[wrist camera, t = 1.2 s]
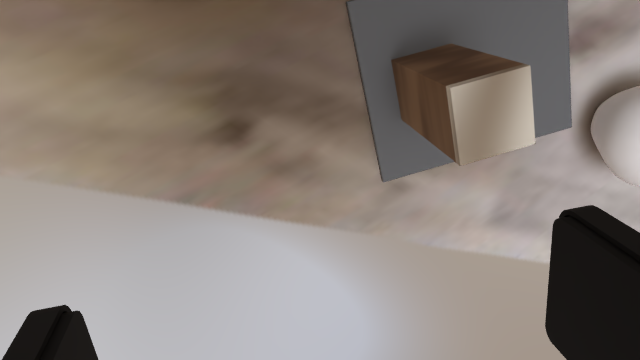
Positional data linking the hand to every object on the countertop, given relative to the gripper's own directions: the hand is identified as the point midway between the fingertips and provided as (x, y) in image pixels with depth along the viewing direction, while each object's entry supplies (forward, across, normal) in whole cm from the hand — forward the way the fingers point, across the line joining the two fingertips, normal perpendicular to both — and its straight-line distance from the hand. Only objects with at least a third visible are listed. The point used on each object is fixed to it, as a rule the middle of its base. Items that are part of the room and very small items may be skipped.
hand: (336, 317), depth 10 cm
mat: (+23, -14, +1) cm, 27 cm away
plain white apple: (+23, -25, +6) cm, 35 cm away
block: (+23, -11, +1) cm, 25 cm away
